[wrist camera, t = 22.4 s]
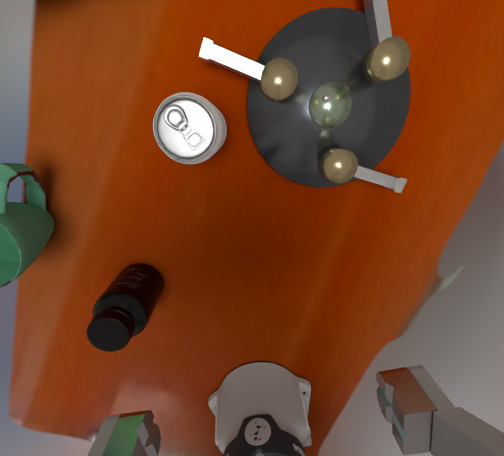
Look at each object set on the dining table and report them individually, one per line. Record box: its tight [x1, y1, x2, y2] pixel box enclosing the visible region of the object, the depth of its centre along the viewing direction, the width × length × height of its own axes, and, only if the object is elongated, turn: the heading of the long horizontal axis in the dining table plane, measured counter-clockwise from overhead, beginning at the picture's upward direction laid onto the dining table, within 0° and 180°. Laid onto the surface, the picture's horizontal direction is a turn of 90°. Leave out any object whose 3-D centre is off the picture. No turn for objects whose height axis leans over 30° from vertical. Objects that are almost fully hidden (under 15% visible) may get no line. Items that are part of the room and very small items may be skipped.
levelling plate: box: [247, 7, 410, 187], centre depth 34 cm, size 20×20×3 cm
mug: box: [0, 163, 55, 288], centre depth 34 cm, size 15×10×10 cm
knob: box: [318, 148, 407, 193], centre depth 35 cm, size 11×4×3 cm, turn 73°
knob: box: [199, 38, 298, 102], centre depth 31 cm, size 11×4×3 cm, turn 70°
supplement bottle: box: [87, 264, 163, 352], centre depth 37 cm, size 7×7×12 cm
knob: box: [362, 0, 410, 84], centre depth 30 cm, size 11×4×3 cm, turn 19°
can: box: [153, 92, 227, 164], centre depth 30 cm, size 6×6×12 cm
